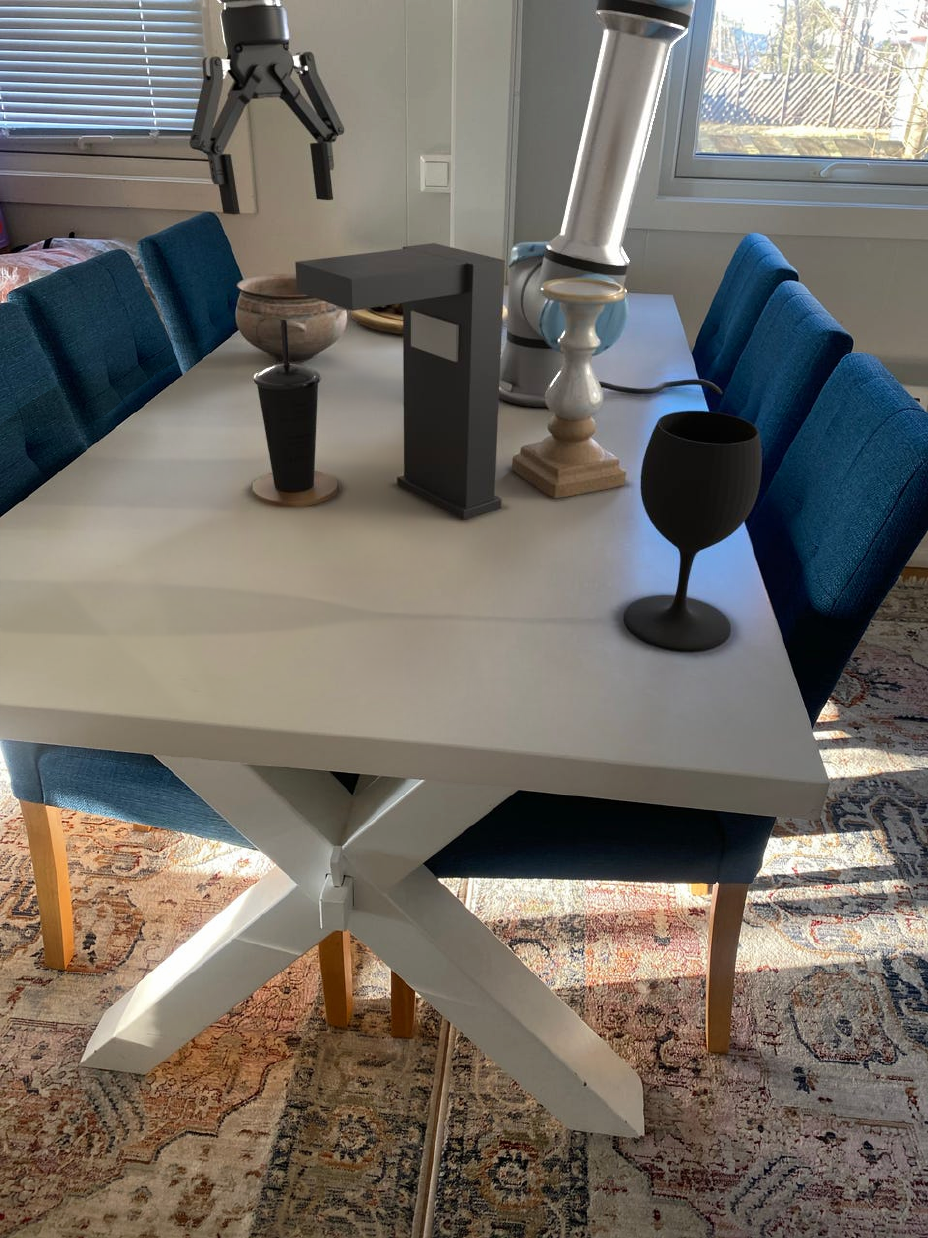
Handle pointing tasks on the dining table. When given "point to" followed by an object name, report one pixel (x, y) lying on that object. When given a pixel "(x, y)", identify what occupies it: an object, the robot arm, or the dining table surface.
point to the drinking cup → (290, 420)
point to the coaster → (318, 493)
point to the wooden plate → (389, 317)
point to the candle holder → (574, 399)
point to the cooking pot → (286, 317)
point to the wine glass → (694, 516)
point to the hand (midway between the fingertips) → (279, 206)
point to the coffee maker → (434, 360)
